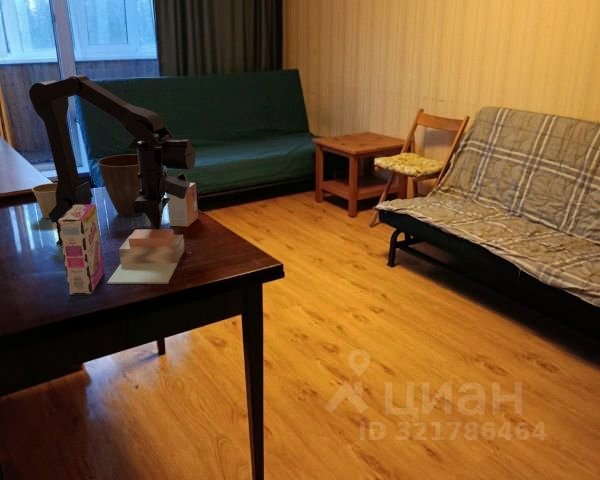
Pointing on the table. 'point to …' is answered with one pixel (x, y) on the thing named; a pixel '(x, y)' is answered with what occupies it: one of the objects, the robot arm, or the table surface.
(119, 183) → the plant pot
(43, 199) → the flower pot
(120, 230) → the table surface
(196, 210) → the small box
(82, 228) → the candy bar box
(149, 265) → the mat
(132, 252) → the deck
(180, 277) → the table surface
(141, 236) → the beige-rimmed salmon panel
